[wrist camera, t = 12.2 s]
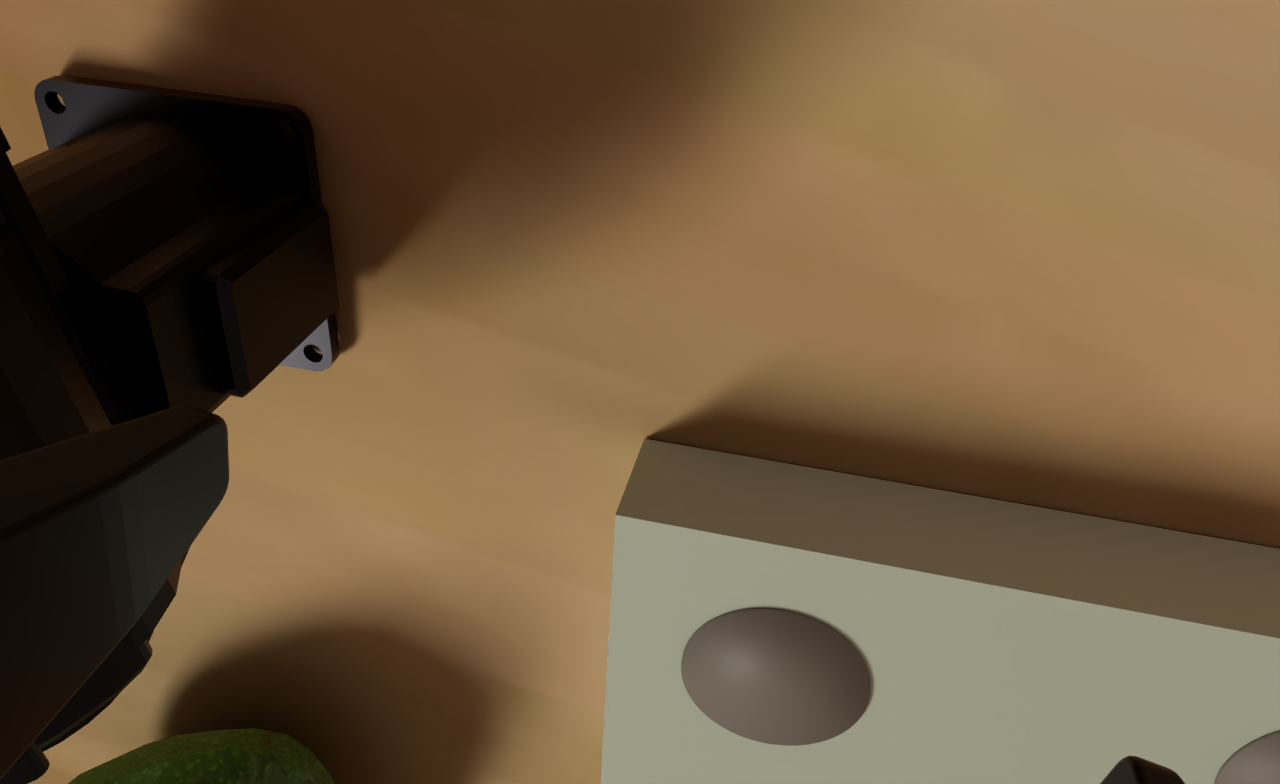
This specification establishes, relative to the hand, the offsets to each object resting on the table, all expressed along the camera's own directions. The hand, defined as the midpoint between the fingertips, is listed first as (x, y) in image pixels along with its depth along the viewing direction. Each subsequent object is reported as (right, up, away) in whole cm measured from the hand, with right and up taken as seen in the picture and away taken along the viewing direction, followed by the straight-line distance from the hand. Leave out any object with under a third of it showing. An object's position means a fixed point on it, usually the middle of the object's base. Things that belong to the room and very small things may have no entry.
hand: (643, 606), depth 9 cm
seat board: (+9, -9, +19) cm, 23 cm away
